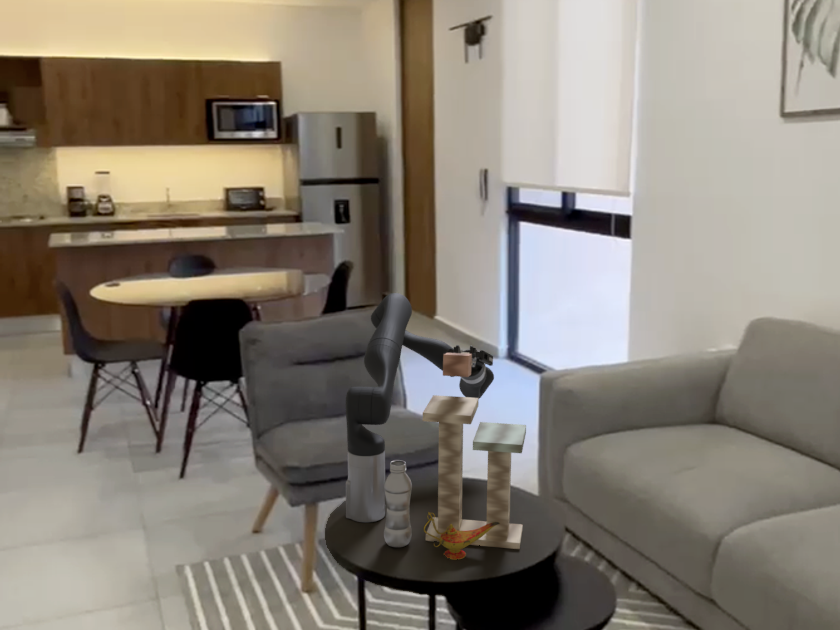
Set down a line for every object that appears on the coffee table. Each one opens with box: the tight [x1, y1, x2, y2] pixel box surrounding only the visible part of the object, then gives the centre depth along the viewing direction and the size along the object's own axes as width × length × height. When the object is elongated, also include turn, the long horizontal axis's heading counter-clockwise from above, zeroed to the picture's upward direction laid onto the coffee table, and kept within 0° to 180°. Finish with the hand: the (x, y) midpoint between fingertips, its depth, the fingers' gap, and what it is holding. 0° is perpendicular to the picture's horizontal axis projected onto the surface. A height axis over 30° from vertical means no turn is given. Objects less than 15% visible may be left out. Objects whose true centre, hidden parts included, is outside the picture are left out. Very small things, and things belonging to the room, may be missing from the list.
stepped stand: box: [422, 394, 527, 550], centre depth 200 cm, size 22×14×32 cm, turn 79°
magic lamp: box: [423, 511, 500, 561], centre depth 193 cm, size 7×18×11 cm, turn 103°
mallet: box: [442, 352, 473, 378], centre depth 211 cm, size 6×22×5 cm, turn 169°
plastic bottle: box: [383, 459, 413, 548], centre depth 196 cm, size 6×7×20 cm
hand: (464, 349), depth 214 cm, fingers closed on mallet, 3 cm apart
